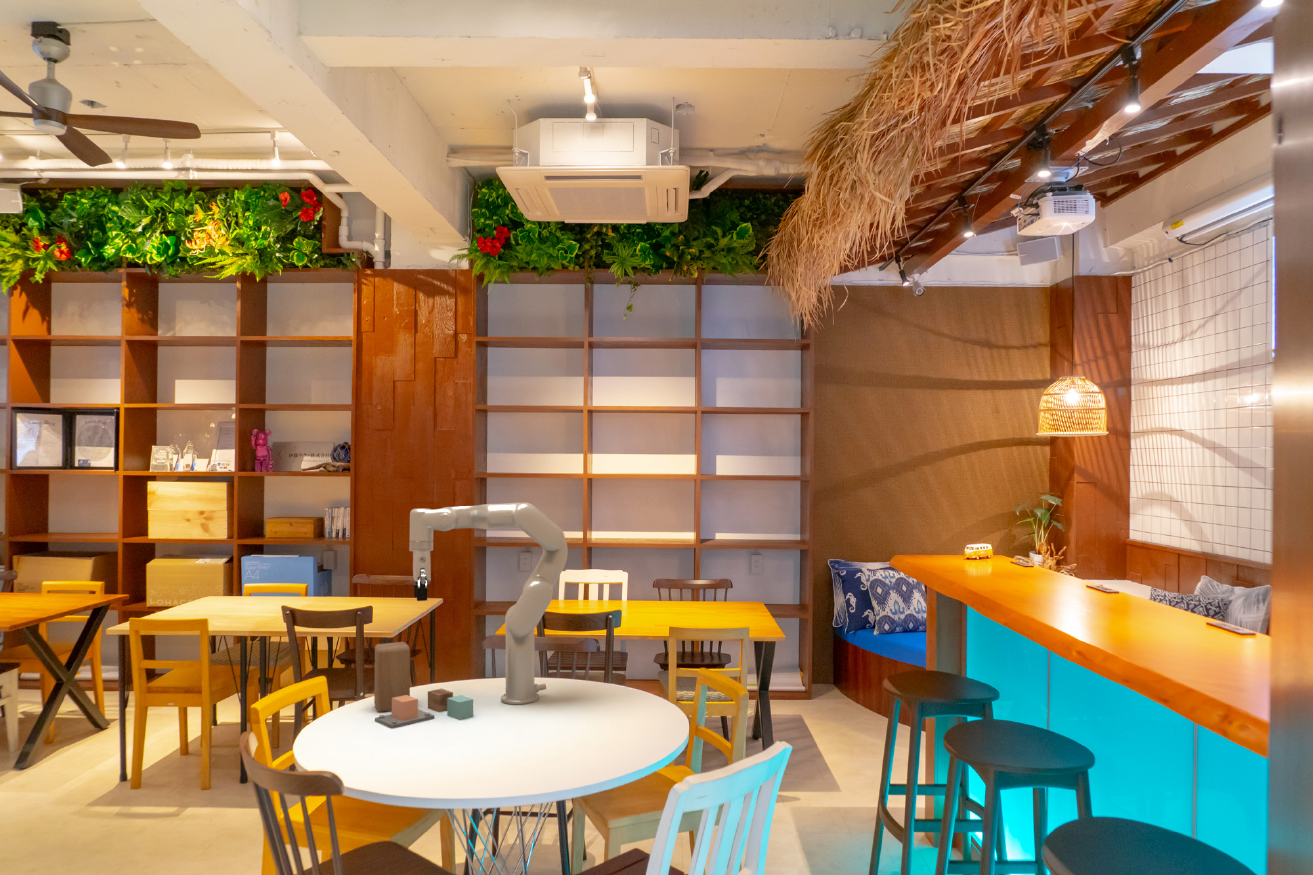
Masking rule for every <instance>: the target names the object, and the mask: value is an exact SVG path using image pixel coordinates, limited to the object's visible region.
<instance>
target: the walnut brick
mask: <svg viewBox="0 0 1313 875" xmlns="http://www.w3.org/2000/svg"><path fill="white" fill-rule="evenodd" d="M451 697H454V692H453V691H451V690H450V691H449V690H447V689H444V688H438V689H432V690H430V691H429V690H428V691H427V709H429V710H431V711H434V712H437V713H442V712H443V711H444V712H447V698H451Z"/></svg>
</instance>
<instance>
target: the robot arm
mask: <svg viewBox="0 0 1313 875" xmlns="http://www.w3.org/2000/svg"><path fill="white" fill-rule="evenodd" d="M453 529H455V530H456V529H480V530H481V529H482V530H504V529H506V530H507V529H521V531H522V532H524V533H525V534H526V535H527V536H529V537H530V538H531V539H532V540H533V541H534V542H535V543H536V544H538V545H539V546H540V547H541V548H542V553H541V554H542V555H540V556H541V557H540V559H539V561H538V562H537V563H536V564H537V565H536V566H535V568H534V570H533V571H532V572H531V574H530V576H529V577H528V579H527V580H526V581H525V582H524V584H523V587H522V593H521V595H520V597H519V599H518V600H517V602H516V603H515V604H513V605H512V606H510V607H509V608H508V609H507V611H506V613H505V617H504V618H505V619H504V621H505V622H504V626H505V627H504V628H505V630H504V631H505V694H502V695H501V696H500V701H501V702H502V703H504V704H507V705H526V704H531V703H536V702H537V701H538V700H539V699H540V694H539V691H544V690H546V689H547V685H546V683H541V684H538V683H535V629H536V627H537V626H538V625H539V623H540V621H541V619H542V617H543V615H544V614H545V613H546V611H547V609H548V607H549V605H550V603H551V602H552V598H553V595H554V594H553V593H554V591H553V589H554V587H555V584H556V583H557V581H558V579H559V577H560V576H561V573H562V572H563V571H564V568H565V566H566V563H567V560H568V550H569V549H568V542H567V540H566V537H565V533H564V531H563V529H562V528H561V527H560V526H558V525H557V524H556V523H555V522H553V520H551V519H549V518H548V517H547V516H546V515H545V514H544V513H543V512H541V511H540V510H539V509H538V508H537V507H536V506H535V505H534V504H532V503H529V502H525V501H524V502H509V503H507V502H506V503H505V502H504V503H487V504H484V503H483V504H479V505H466V506H463V505H461V506H445V507H441V508H436V509H431V508H413V509H411V510H410V512H409V550H408V551H409V552H412V558H413V559H412V575H413V580H414V587H413V589H414V590H413V593H414V594H413V595H414V598H415V597H416V601H417V602H423V601H425V602H426V601H428V583H427V582H431V580H432V578H431V574H432V573H431V569H432V568H431V566H432V564H431V552H432V551H434V531H441V532H448V531H450V530H453Z"/></svg>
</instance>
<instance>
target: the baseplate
mask: <svg viewBox="0 0 1313 875" xmlns="http://www.w3.org/2000/svg"><path fill="white" fill-rule="evenodd" d="M430 720H435V715H434V714H432V713H431V712H426V711H424V710H421V709H419V699H418V698H416V697H413V696H411V695H410V696H408V695H404V696H399V697H394V698H392V711H391V713H390V714H387V715H384V714H380V715H378V716H377V717H374V722H375V723H378V724H379V725H383V726H384V727H387V728H390V729H396V728H401V727H404V726H405V727H406V726H410V725H413V724H418V723H421V722H426V721H430Z"/></svg>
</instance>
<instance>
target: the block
mask: <svg viewBox="0 0 1313 875" xmlns="http://www.w3.org/2000/svg"><path fill="white" fill-rule="evenodd" d="M410 689H411V648H410V647H409V644H408V643H406V642H405V641H399V642H397V641H396V642H388V643H387V642H386V643H377V644H375V645H374V692H373V693H374V700H373V701H374V702H373V703H374V705H375V707H376V710H377V711H378V712H379V713H385V712H392V698H394V697H399V696H404V695H408V696H411V695H410V692H411V690H410Z"/></svg>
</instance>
